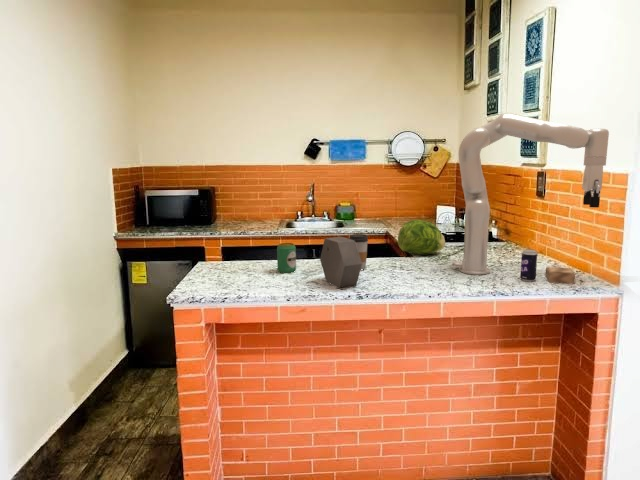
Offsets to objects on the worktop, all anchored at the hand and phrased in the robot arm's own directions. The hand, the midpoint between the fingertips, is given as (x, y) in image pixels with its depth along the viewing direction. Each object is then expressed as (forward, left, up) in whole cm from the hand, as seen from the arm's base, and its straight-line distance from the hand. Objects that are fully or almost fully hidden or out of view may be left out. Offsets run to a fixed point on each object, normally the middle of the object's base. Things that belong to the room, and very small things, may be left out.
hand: (590, 205), depth 191 cm
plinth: (-10, -6, -29) cm, 31 cm away
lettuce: (-67, +33, -30) cm, 81 cm away
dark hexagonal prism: (-93, -32, -30) cm, 103 cm away
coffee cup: (-91, -7, -29) cm, 96 cm away
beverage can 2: (-22, -9, -29) cm, 38 cm away
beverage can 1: (-120, -19, -30) cm, 125 cm away
